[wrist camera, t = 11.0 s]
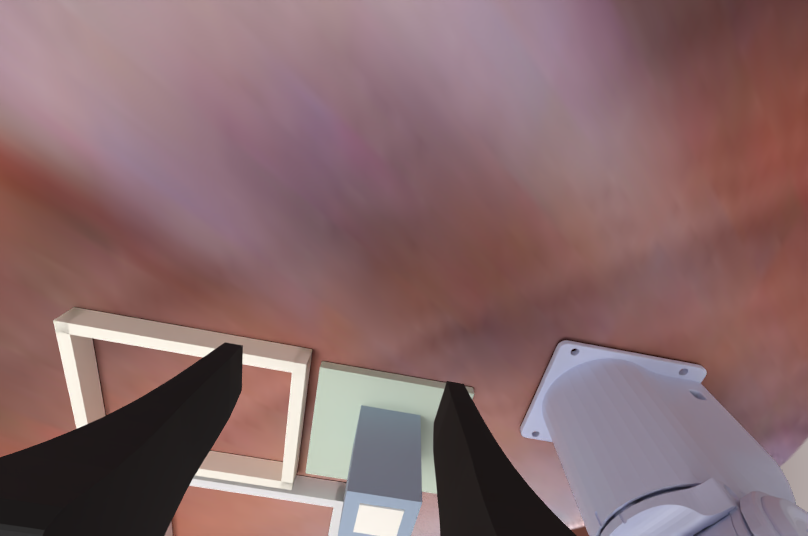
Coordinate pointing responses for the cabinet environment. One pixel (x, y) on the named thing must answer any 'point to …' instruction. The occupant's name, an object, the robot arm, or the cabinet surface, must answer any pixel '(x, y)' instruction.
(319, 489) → the grey rectangular frame
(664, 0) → the cabinet surface
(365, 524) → the slate block
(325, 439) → the green mat
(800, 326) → the cabinet surface
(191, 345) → the cream rectangular frame
